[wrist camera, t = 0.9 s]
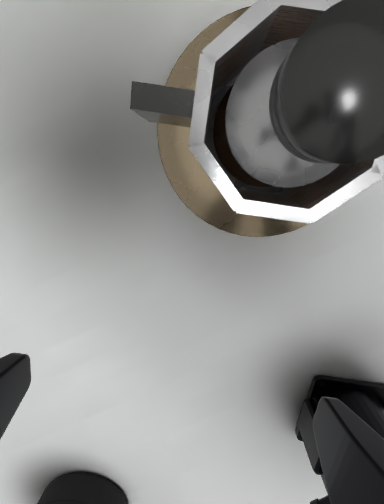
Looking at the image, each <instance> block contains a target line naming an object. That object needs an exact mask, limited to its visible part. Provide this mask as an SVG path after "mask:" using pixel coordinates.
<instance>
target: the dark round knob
mask: <svg viewBox="0 0 384 504" xmlns="http://www.w3.org/2000/svg"><path fill="white" fill-rule="evenodd" d="M225 132H226V138H227V142H228V145H229V148H230V150H231V153H232V155H233V156H234V158H235V160H236V161H237V163H238V164H239V165H240V167H241V168H242V169H243V170H244V171H245V172H246V173H248V174H249V175H250V176H252V177H253V178H255V179H257V180H259V181H260V182H263V183H266V184H269V185H272V186H277V187H286V188H287V187H298V186H304V185H307V184H310V183H313V182H315V181H317V180H319V179H321V178H323V177H325V176H326V175H328V174H329V173H331V172H332V171H333V170H334V169H336V168H337V167H338V166H339V165H340V164H356V163H362V162H367V161H370V160H373V159H376V158H378V157H381V156H383V155H384V0H342V1H340V2H338V3H336V4H334V5H333V6H331V7H330V8H328V9H327V10H326V11H324V12H323V13H322V14H321V15H320V16H318V17H317V18H316V19H315V20H314V21H313V22H312V23H311V25H310V26H309V27H308V28H307V29H306V30H305V32H304V33H303V34H302V36H301V37H300V38H292V39H288V40H284V41H281V42H278V43H276V44H273V45H272V46H270V47H268V48H266V49H264V50H263V51H262V52H260V53H259V54H258V55H256V56H255V57H254V58H253V59H252V60H251V61H250V62H249V63H248V64H247V66H246V67H245V68H244V69H243V70H242V72H241V73H240V75H239V77H238V78H237V80H236V82H235V84H234V86H233V88H232V91H231V93H230V96H229V99H228V103H227V107H226V114H225Z"/></svg>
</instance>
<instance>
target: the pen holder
mask: <svg viewBox="0 0 384 504" xmlns="http://www.w3.org/2000/svg"><path fill="white" fill-rule="evenodd" d="M37 504H127V501H126V498H125V496H124V494H123V492H122V491H121V490H120V489H119V487H117V486H116V485H115V484H114V483H112V482H111V481H109V480H108V479H106V478H104V477H101V476H98V475H95V474H91V473H84V472H76V473H69V474H65V475H63V476H60V477H59V478H57V479H55V480H54V481H52V482H51V483H50V484H49V485H48V486H47V488H46V489H45V491H44V493H43V494H42V496H41V498H40V500H39V501H38V503H37Z"/></svg>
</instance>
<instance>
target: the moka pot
mask: <svg viewBox="0 0 384 504" xmlns="http://www.w3.org/2000/svg"><path fill="white" fill-rule="evenodd" d="M340 1H342V0H258V1H257V2H256V3H255V4H253V5H252V6H250V7H246V8H242V9H240V10H237V11H235V12H232V13H230V14H228V15H226V16H224V17H222V18H221V19H219V20H217V21H216V22H214V23H213V24H211V25H210V26H209V27H208V28H206V29H205V30H204V31H202V32H201V33H200V34H199V35H198V36H197V37H196V38H195V39H194V40H193V41H192V42H191V43H190V44H189V46H188V47H187V48H186V50H185V51H184V52H183V54H182V55H181V56H180V58H179V59H178V61H177V63H176V64H175V66H174V68H173V70H172V71H171V74H170V76H169V78H168V81H167V83H166V86H161V85H154V84H147V83H141V82H134V81H132V90H131V105H130V109H132V110H133V111H134V112H136V113H137V114H139V115H140V116H142V117H143V118H145V119H146V120H148V121H149V122H156V123H158V142H159V150H160V155H161V159H162V163H163V166H164V169H165V172H166V175H167V177H168V179H169V181H170V183H171V185H172V187H173V188H174V190H175V191H176V193H177V194H178V196H179V197H180V199H181V200H182V201H183V202H184V203H185V204H186V206H187V207H188V208H189V209H190V210H191V211H193V212H194V213H195V214H196V215H197V216H198V217H200V218H201V219H203V220H204V221H206V222H207V223H209V224H211V225H213V226H215V227H217V228H219V229H221V230H224V231H227V232H230V233H233V234H238V235H243V236H254V237H260V236H272V235H278V234H283V233H286V232H290V231H293V230H296V229H298V228H300V227H303V226H305V225H307V224H310V223H314V222H315V221H317V220H318V219H320V218H321V217H323V216H325V215H326V214H328V213H329V212H331V211H332V210H334V209H335V208H337V207H338V206H340V205H341V204H343V203H344V202H346V201H347V200H349V199H351V198H352V197H354V196H355V195H357V194H358V193H360V192H361V191H363V190H364V189H366V188H367V187H369V186H370V185H372V184H373V183H375V182H377V181H378V180H380V179H381V178H383V175H382V174H384V155H383V156H381V157H378V158H376V159H373V160H370V161H367V162H362V163H356V164H340V165H339V166H338V167H337V168H336V169H334V170H333V171H332V172H331V173H329V174H328V175H326V176H325V177H323V178H321V179H319V180H317V181H315V182H313V183H310V184H307V185H304V186H298V187H287V188H286V187H277V186H272V185H269V184H266V183H263V182H260V181H259V180H257V179H255V178H253V177H252V176H250V175H249V174H248V173H246V172H245V171H244V170H243V169H242V168H241V167H240V165H239V164H238V163H237V161H236V160H235V158H234V156H233V155H232V153H231V150H230V148H229V145H228V142H227V138H226V132H225V114H226V107H227V103H228V99H229V96H230V93H231V91H232V88H233V86H234V84H235V82H236V80H237V78H238V77H239V75H240V73H241V72H242V70H243V69H244V68H245V67H246V66H247V64H248V63H249V62H250V61H251V60H252V59H253V58H254V57H255V56H256V55H258V54H259V53H260V52H262V51H263V50H264V49H266V48H268V47H270V46H272V45H273V44H276V43H278V42H281V41H284V40H288V39H292V38H300V37H301V36H302V34H303V33H304V32H305V30H306V29H307V28H308V27H309V26H310V25H311V23H312V22H313V21H314V20H315V19H316V18H317V17H318V16H320V15H321V14H322V13H323V12H324V11H326V10H327V9H328V8H330V7H331V6H333V5H334V4H336V3H338V2H340Z"/></svg>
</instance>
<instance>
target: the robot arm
mask: <svg viewBox="0 0 384 504" xmlns="http://www.w3.org/2000/svg"><path fill="white" fill-rule="evenodd" d="M30 382H31V369H30V357H29V356H28V355H27V354H21V353H11V354H8V355H6V356H4V357H2V358H0V439H1V437H2V436H3V434H4V432H5V430H6V428H7V426H8V425H9V423H10V421H11V419H12V417H13V415H14V414H15V412H16V410H17V408H18V406H19V405H20V403H21V401H22V399H23V397H24V395H25V394H26V392H27V390H28V388H29V386H30ZM319 382H321V383H319ZM297 425H298V426H297V429H296V436H297V438H298V440H300V441H303V442H304V445H305V448H306V451H307V454H308V457H309V460H310V462H311V465H312V468H313V470H314V472H315V473H316V474H318V475H321V477H322V480H323V482H324V485H325V488H326V491H327V493H328V495H327V496H325V497H323V498H321V499H315V500H313V501H311V502H310V504H384V385H381V384H375V383H368V382H362V381H355V380H349V379H342V378H335V377H329V376H322V375H318V376H316V377H314V379H313V381H312V384H311V387H310V390H309V393H308V396H307V398H306V399H305V400H304V403H303V406H302V409H301V412H300V415H299V418H298V421H297Z"/></svg>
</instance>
